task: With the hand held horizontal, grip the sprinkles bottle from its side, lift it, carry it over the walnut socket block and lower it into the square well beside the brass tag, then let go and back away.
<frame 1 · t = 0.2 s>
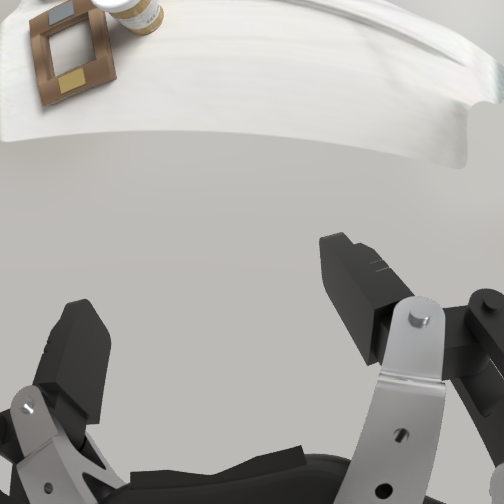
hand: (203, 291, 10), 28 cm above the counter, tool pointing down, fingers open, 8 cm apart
slate tag: (61, 13, 21), resting on socket block
brass tag: (72, 80, 26), resting on socket block
sprinkles bottle: (144, 18, 26), on the counter
socket block: (74, 47, 26), on the counter
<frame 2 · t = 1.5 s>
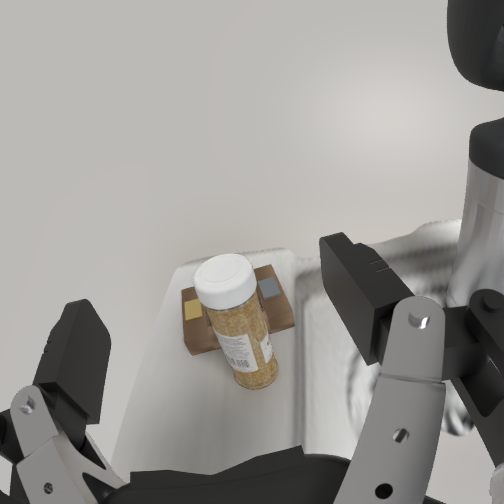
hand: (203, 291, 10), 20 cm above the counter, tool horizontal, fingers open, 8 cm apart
slate tag: (269, 288, 36), resting on socket block
brass tag: (193, 310, 36), resting on socket block
sprinkles bottle: (256, 373, 30), on the counter
socket block: (236, 314, 37), on the counter
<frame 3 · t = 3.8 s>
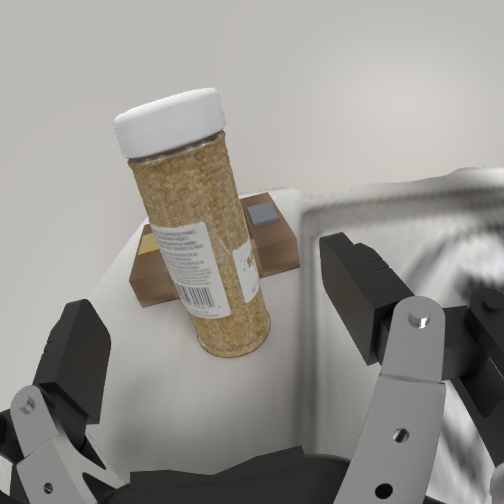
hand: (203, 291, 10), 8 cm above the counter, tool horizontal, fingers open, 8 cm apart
slate tag: (262, 215, 25), resting on socket block
brass tag: (153, 244, 25), resting on socket block
sprinkles bottle: (234, 333, 19), on the counter
socket block: (214, 255, 26), on the counter
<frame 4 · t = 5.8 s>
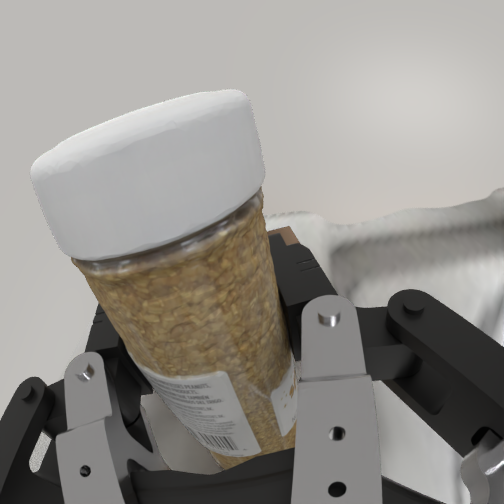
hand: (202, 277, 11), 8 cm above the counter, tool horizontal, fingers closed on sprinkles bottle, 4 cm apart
sprinkles bottle: (257, 438, 13), on the counter, touching gripper
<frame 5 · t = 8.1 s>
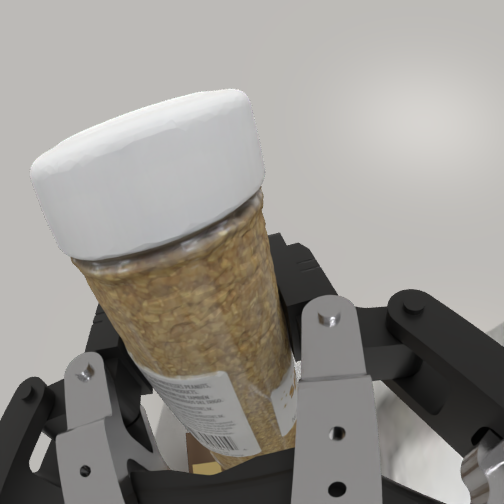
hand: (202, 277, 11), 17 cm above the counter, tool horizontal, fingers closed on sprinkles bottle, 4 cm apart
brass tag: (210, 483, 16), resting on socket block
sprinkles bottle: (257, 438, 13), point 10 cm above the counter, touching gripper
socket block: (281, 479, 18), on the counter
when the fingers open (8 cm above the counter, at t = 10.4 s): sprinkles bottle stays where it is, resting in socket block.
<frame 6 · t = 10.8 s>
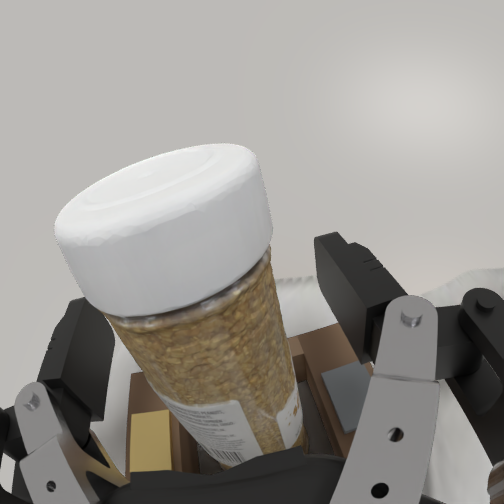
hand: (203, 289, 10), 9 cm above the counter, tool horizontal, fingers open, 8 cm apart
slate tag: (353, 396, 12), resting on socket block
brass tag: (152, 443, 12), resting on socket block
sprinkles bottle: (262, 449, 13), resting in socket block
socket block: (261, 446, 13), on the counter
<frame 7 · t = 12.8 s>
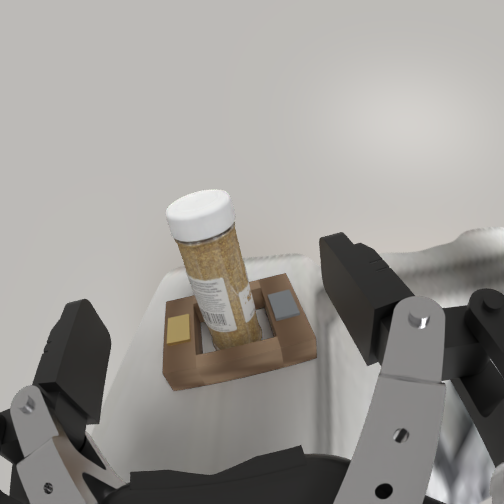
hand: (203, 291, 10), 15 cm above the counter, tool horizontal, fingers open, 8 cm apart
slate tag: (283, 305, 26), resting on socket block
brass tag: (179, 330, 26), resting on socket block
sprinkles bottle: (238, 340, 27), resting in socket block
socket block: (236, 338, 27), on the counter
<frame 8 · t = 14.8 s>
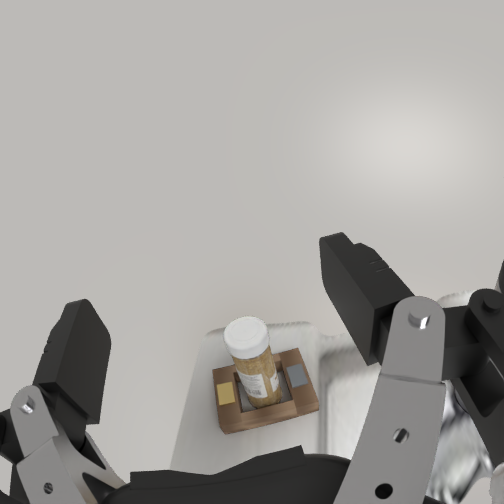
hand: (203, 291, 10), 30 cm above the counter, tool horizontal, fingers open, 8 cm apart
slate tag: (297, 376, 37), resting on socket block
brass tag: (226, 394, 36), resting on socket block
sprinkles bottle: (265, 396, 38), resting in socket block
socket block: (264, 395, 38), on the counter
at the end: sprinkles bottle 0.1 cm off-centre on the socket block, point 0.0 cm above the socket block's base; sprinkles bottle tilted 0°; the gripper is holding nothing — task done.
